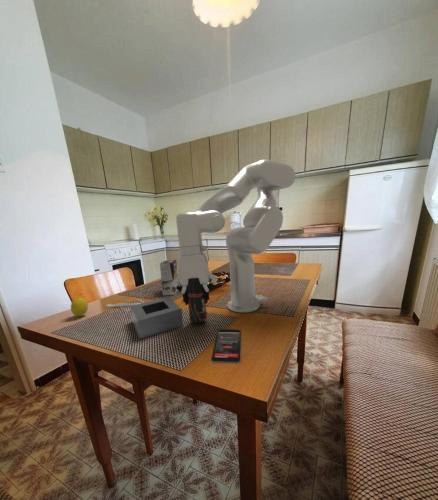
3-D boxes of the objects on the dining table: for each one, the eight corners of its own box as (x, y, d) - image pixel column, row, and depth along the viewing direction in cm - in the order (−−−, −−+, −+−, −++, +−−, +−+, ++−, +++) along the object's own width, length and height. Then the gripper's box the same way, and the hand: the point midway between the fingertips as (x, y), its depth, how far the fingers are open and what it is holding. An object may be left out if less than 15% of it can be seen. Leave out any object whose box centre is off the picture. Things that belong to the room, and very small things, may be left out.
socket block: (170, 311, 81) (168, 296, 80) (183, 325, 69) (181, 308, 68) (132, 321, 74) (130, 306, 73) (139, 339, 62) (137, 320, 61)
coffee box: (175, 295, 99) (172, 262, 97) (162, 295, 100) (159, 263, 97) (179, 289, 108) (176, 259, 106) (167, 289, 109) (164, 260, 106)
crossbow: (148, 302, 96) (148, 297, 95) (139, 313, 83) (139, 309, 83) (114, 302, 95) (113, 298, 95) (99, 314, 82) (99, 309, 82)
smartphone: (210, 361, 50) (217, 329, 65) (210, 363, 50) (218, 331, 65) (240, 362, 49) (240, 329, 64) (240, 364, 49) (241, 331, 64)
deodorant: (204, 322, 67) (200, 278, 64) (187, 322, 68) (182, 279, 65) (208, 314, 72) (205, 273, 70) (193, 314, 73) (188, 274, 71)
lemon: (69, 318, 79) (66, 299, 78) (82, 312, 84) (80, 294, 83) (79, 320, 77) (75, 300, 76) (92, 314, 82) (89, 295, 81)
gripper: (217, 246, 70) (221, 296, 73) (167, 251, 70) (173, 300, 73) (217, 250, 63) (222, 305, 65) (162, 254, 62) (169, 309, 65)
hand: (196, 302), depth 69 cm, fingers closed on deodorant, 6 cm apart
